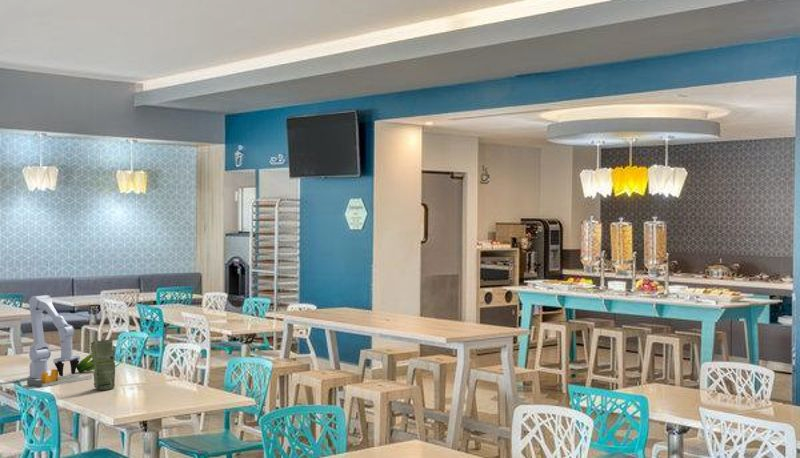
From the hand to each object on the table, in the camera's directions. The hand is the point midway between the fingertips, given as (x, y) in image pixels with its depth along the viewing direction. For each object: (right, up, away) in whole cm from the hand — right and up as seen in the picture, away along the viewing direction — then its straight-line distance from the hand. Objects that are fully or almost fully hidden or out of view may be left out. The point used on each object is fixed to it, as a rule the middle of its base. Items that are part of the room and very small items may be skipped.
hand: (67, 375), depth 485 cm
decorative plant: (+8, -3, +35) cm, 36 cm away
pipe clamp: (-6, -3, -9) cm, 12 cm away
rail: (-2, -3, -3) cm, 5 cm away
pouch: (+27, -3, -25) cm, 37 cm away
